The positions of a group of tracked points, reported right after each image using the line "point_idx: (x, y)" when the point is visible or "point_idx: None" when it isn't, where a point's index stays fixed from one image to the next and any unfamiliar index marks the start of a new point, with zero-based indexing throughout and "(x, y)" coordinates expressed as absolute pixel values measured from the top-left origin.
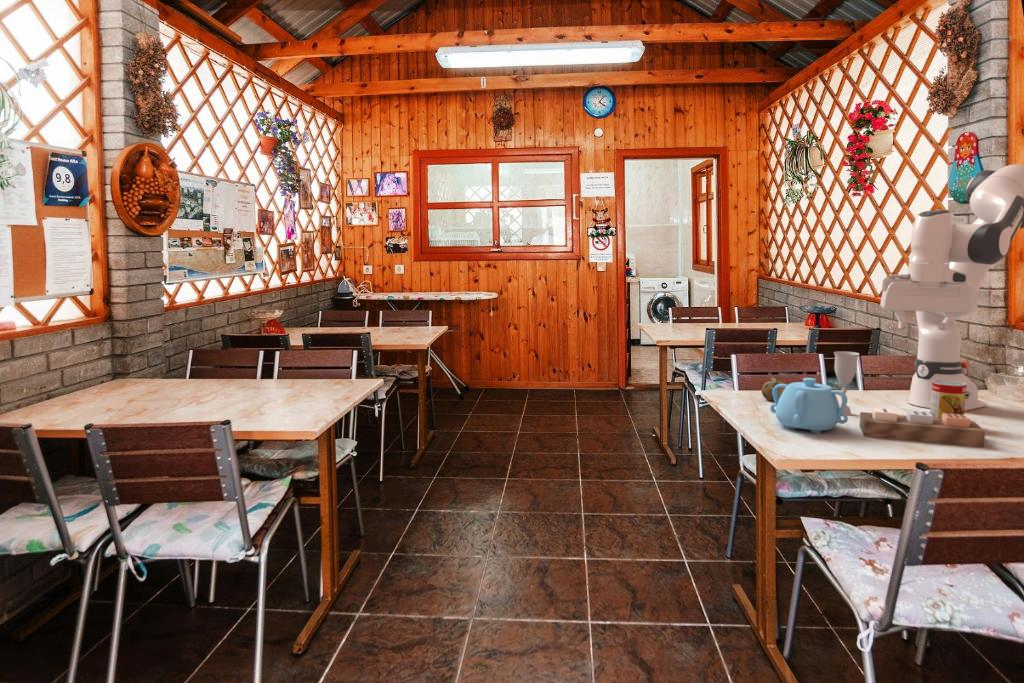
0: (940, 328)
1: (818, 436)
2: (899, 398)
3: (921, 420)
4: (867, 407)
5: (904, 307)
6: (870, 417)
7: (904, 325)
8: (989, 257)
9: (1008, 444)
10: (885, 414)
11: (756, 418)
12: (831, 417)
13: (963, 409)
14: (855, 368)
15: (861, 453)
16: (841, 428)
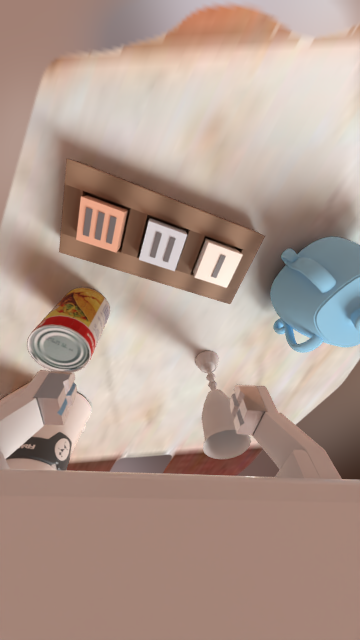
0: (72, 379)
1: (330, 227)
2: (92, 430)
3: (168, 226)
4: (155, 390)
5: (341, 506)
6: (237, 266)
7: (255, 394)
8: None
9: (24, 186)
10: (226, 248)
11: None
12: (322, 243)
13: (55, 306)
14: (210, 409)
15: (341, 95)
16: (259, 280)
